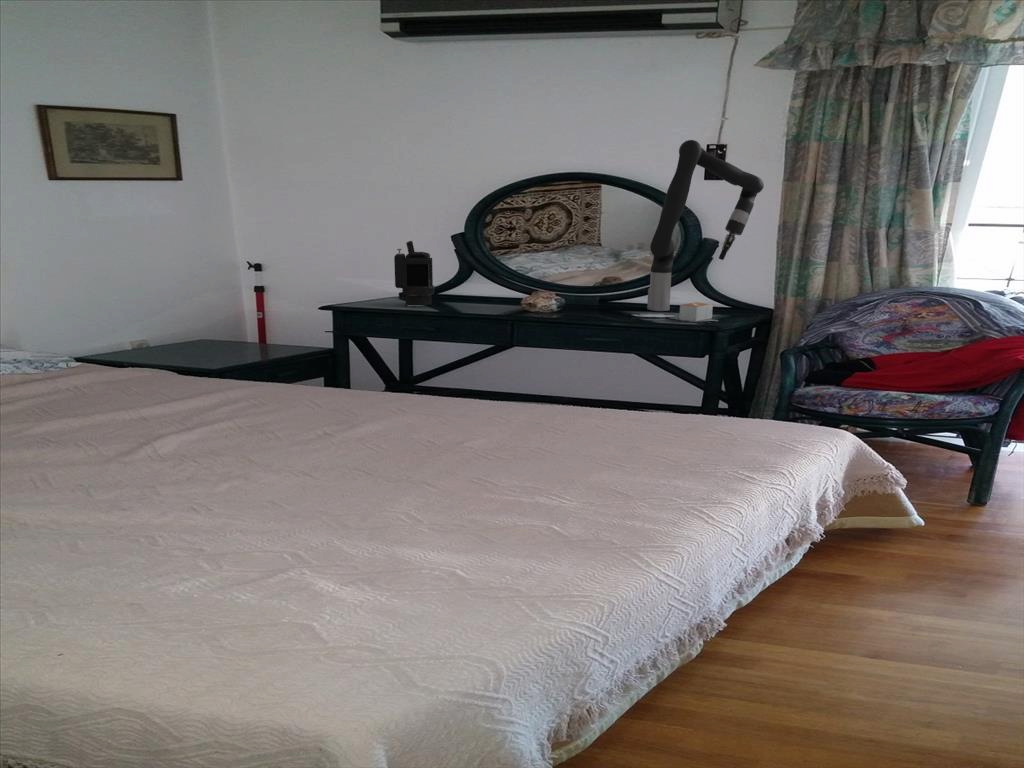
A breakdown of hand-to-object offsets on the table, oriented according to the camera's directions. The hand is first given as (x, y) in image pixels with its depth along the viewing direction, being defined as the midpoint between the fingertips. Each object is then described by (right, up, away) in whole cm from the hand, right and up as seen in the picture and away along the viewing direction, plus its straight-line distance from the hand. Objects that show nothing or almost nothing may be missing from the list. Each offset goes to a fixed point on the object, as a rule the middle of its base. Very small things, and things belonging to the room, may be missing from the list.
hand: (720, 259), depth 325 cm
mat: (-16, -28, -14) cm, 35 cm away
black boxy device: (-137, -18, +28) cm, 141 cm away
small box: (-10, -23, -10) cm, 27 cm away
